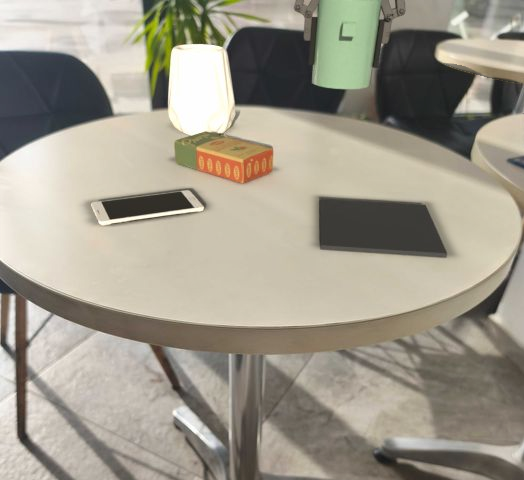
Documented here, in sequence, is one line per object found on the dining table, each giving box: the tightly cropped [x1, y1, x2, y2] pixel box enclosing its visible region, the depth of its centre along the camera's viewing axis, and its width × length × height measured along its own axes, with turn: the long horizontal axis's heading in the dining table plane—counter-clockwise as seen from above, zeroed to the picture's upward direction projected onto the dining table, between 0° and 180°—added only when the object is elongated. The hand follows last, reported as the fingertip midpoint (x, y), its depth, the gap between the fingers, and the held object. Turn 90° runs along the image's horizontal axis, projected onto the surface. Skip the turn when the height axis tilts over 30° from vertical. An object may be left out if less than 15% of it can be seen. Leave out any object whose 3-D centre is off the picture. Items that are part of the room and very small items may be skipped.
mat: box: [319, 198, 448, 259], centre depth 69 cm, size 16×16×1 cm
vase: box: [167, 43, 236, 136], centre depth 102 cm, size 14×14×15 cm
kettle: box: [311, 0, 382, 90], centre depth 80 cm, size 17×10×15 cm, turn 174°
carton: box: [173, 131, 274, 184], centre depth 86 cm, size 8×16×4 cm, turn 51°
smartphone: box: [90, 189, 205, 226], centre depth 72 cm, size 8×1×15 cm
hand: (342, 65), depth 83 cm, fingers closed on kettle, 10 cm apart
